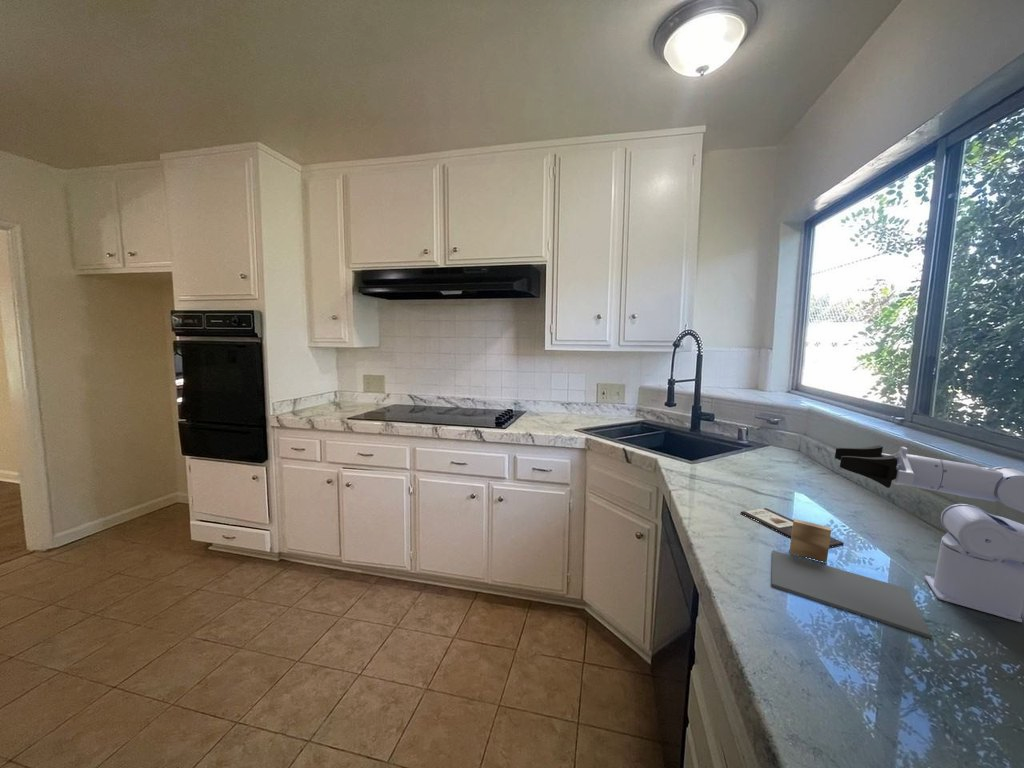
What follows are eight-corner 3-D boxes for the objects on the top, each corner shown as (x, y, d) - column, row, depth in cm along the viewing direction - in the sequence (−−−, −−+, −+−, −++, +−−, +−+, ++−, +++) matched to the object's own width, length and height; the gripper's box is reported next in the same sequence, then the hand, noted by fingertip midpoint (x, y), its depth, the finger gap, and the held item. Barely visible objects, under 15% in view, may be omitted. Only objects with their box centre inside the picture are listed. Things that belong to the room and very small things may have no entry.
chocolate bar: (815, 548, 82) (740, 511, 99) (815, 552, 82) (740, 515, 99) (843, 542, 85) (766, 508, 102) (843, 546, 85) (765, 511, 102)
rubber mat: (905, 590, 70) (906, 588, 69) (931, 638, 58) (932, 635, 58) (772, 552, 81) (772, 550, 81) (771, 586, 69) (771, 583, 69)
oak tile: (825, 559, 79) (830, 526, 78) (826, 563, 77) (831, 530, 76) (789, 549, 82) (793, 518, 81) (789, 553, 81) (793, 521, 80)
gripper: (927, 445, 75) (836, 431, 82) (956, 462, 63) (847, 444, 70) (920, 480, 76) (831, 463, 83) (947, 504, 64) (840, 482, 71)
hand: (837, 457), depth 77 cm, fingers open, 7 cm apart
